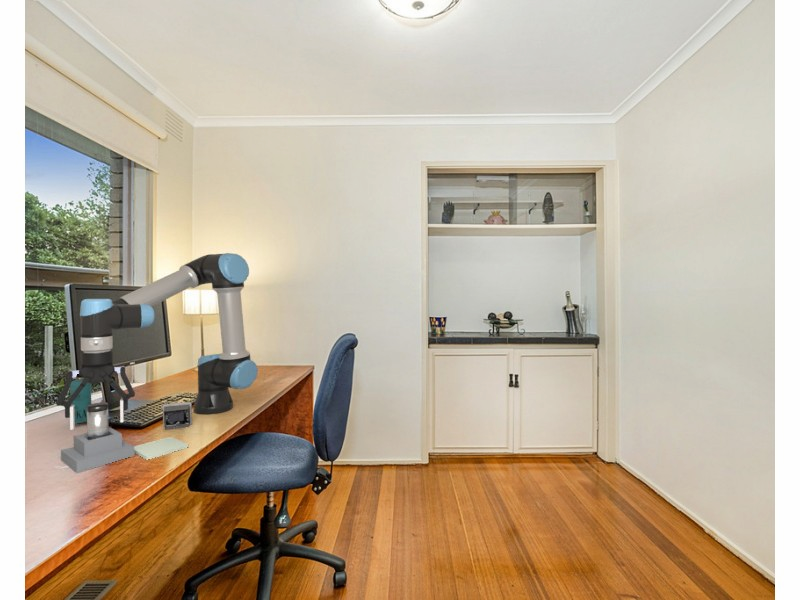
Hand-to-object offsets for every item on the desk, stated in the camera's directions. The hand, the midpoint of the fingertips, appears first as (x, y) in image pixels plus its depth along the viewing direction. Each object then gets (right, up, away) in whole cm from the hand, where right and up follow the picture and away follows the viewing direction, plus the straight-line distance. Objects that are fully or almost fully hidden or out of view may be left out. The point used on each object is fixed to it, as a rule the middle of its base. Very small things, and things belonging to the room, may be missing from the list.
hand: (97, 424), depth 120 cm
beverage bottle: (-29, -9, +30) cm, 43 cm away
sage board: (+14, -10, +7) cm, 19 cm away
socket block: (0, -10, 0) cm, 10 cm away
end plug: (0, -7, 0) cm, 7 cm away
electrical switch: (+9, -10, +27) cm, 30 cm away
